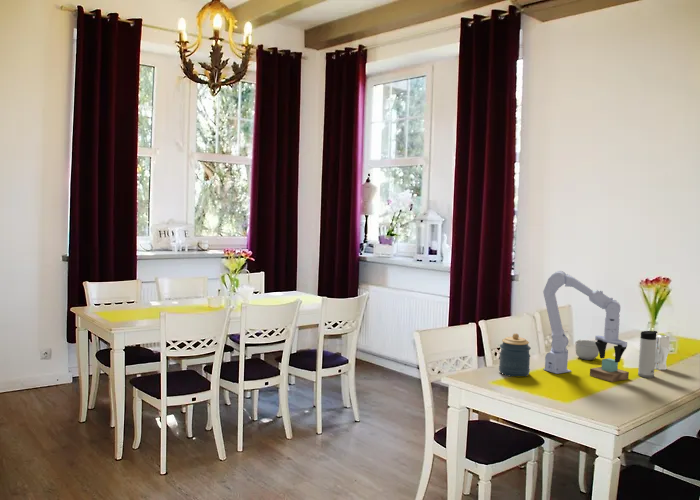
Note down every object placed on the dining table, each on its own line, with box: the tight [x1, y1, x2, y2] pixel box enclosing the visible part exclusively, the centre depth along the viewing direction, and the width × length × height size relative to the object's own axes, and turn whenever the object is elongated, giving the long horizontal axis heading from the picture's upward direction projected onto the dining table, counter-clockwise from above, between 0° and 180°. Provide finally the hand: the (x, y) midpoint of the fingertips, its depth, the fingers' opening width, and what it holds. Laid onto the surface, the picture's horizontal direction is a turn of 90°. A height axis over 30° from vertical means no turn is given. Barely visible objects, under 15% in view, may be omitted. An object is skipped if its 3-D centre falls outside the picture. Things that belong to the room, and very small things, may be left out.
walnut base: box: [589, 366, 630, 383], centre depth 275 cm, size 11×11×3 cm
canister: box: [498, 333, 531, 377], centre depth 276 cm, size 13×13×18 cm
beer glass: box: [654, 334, 670, 371], centre depth 292 cm, size 7×7×15 cm
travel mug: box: [637, 330, 658, 379], centre depth 277 cm, size 6×7×20 cm
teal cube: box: [601, 358, 619, 372], centre depth 274 cm, size 4×4×4 cm
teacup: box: [575, 339, 599, 361], centre depth 310 cm, size 14×11×8 cm
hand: (609, 360), depth 274 cm, fingers open, 7 cm apart
